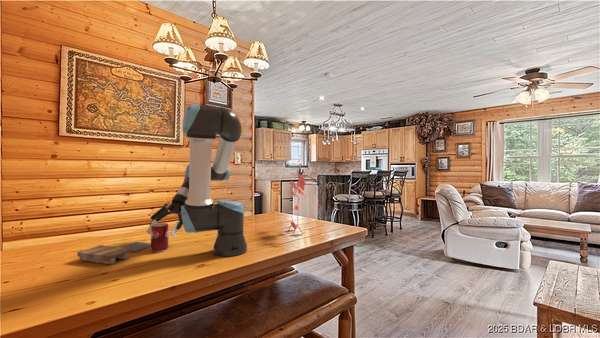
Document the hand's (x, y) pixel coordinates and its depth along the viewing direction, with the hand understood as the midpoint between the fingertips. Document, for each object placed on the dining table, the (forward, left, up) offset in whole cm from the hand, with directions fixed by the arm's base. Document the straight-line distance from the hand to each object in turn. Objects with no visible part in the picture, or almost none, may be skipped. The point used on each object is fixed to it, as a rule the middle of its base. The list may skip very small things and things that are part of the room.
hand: (160, 233), depth 126 cm
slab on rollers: (+11, +18, -7) cm, 22 cm away
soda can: (-1, +1, -7) cm, 7 cm away
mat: (+13, +1, -7) cm, 15 cm away
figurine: (-55, -51, -7) cm, 75 cm away
